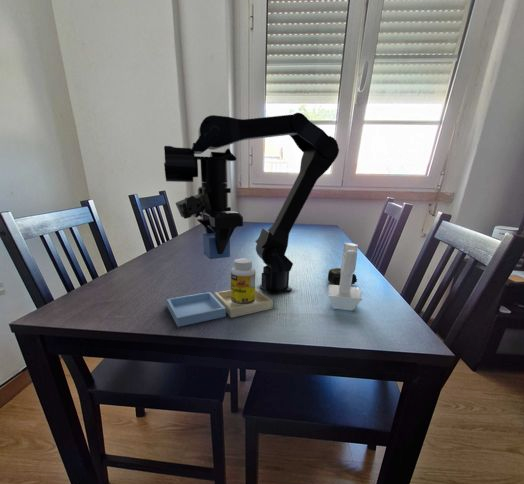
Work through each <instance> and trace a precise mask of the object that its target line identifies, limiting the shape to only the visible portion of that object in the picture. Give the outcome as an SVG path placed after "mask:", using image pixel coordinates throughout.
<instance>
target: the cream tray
mask: <svg viewBox="0 0 524 484" xmlns="http://www.w3.org/2000/svg"><path fill="white" fill-rule="evenodd" d="M214 297H215V298H216V299H217V300H218V301H219V302H220V303H221V304H222V305H223V306H224V307H225V308H226V315H228V316H229V317H230V318H231V319H232V318H237V317H241V316H246V315H249V314H254V313H258V312H263V311H267V310H272V309H273V305H274V304H273V300H272V299H271V298H270V297H269V296H267V295H266V294H265V293H262V291H260V290H258V289H257V288H256V287H255V301H254V303H253V304H249V305H244V306H238V305H235V304H233V303H232V301H231V289H228V290H222V291H216V292H214Z"/></svg>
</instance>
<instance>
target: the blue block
mask: <svg viewBox="0 0 524 484" xmlns="http://www.w3.org/2000/svg"><path fill="white" fill-rule="evenodd" d="M202 243H203V246H202V247H203V255H204V256H206V257H207V258H208V259H209V260H217V259H225V258H230V257H231V238H230V239H229V241H228V243H227V246H226V248H225V250H224V252H223V254H218V252H217V247H216V241H215V236H214V233H209V234H206V233H202Z"/></svg>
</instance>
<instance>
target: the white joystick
mask: <svg viewBox="0 0 524 484" xmlns="http://www.w3.org/2000/svg"><path fill="white" fill-rule="evenodd" d="M358 249H359V245H358V244H357V243H353V242H352V243H351V242H344V243H343V249H342V256H341V264H340V268H341V278H340V285H335V284H328V299H329V301H330V303H331V306H332V309H334V310H335V309H336V310H343V311H354V310H355V309H356V307H357V306H358V305H359V304H360V302H362V300H363V297H362V293H361V288H360V287H358V286H352V284H351V283H352V277H353V274H355V271H356V267H357V259H358Z"/></svg>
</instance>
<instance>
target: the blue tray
mask: <svg viewBox="0 0 524 484" xmlns="http://www.w3.org/2000/svg"><path fill="white" fill-rule="evenodd" d="M166 306H167V309H168V311H169V313H170V315H171V316H172V319H173V320H174V322H175V324H176V326H177V328H179V327H185V326H188V325H194V324H199V323H202V322H206V321H207V322H208V321H212V320H216V319H221V318H225V317H227V313H226V308H225V307H224V306H223V305H222V304H221V303H220V302H219V301H218V300H217V299H216V298H215V294H213V293H212V292H211V291H206V292H201V293H195V294H188V295H183V296H176V297H171V298H166Z"/></svg>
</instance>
